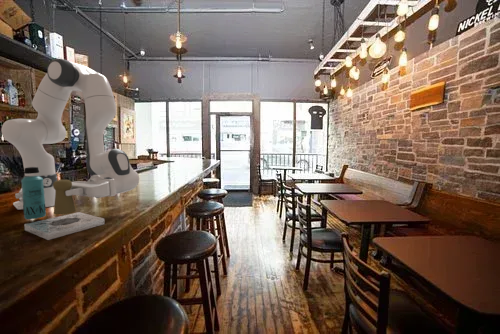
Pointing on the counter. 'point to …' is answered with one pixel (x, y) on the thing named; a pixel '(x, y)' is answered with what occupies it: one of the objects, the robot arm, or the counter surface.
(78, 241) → the counter surface
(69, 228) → the jig plate
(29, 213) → the beverage bottle
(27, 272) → the counter surface
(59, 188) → the olive peg doll
